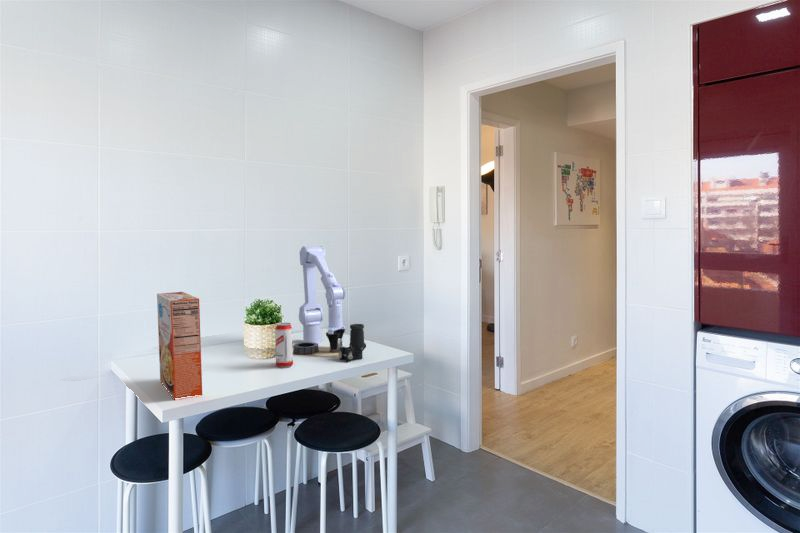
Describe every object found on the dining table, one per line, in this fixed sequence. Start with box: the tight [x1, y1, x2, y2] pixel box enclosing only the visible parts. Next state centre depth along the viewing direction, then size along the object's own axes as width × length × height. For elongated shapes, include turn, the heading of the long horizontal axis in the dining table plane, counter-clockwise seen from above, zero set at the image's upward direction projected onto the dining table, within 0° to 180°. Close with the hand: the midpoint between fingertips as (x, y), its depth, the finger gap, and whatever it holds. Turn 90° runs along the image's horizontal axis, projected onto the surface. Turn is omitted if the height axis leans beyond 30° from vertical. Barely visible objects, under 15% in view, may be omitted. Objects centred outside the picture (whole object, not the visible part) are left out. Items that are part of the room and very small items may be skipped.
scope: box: [339, 323, 367, 363], centre depth 195 cm, size 8×14×10 cm
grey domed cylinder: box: [329, 338, 343, 353], centre depth 208 cm, size 5×5×5 cm
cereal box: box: [156, 291, 203, 400], centre depth 161 cm, size 23×8×30 cm, turn 35°
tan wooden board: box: [293, 345, 341, 359], centre depth 208 cm, size 18×24×1 cm
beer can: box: [274, 322, 294, 369], centre depth 188 cm, size 6×6×16 cm
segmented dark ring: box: [293, 341, 319, 355], centre depth 207 cm, size 10×10×3 cm
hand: (335, 348), depth 208 cm, fingers closed on grey domed cylinder, 5 cm apart
